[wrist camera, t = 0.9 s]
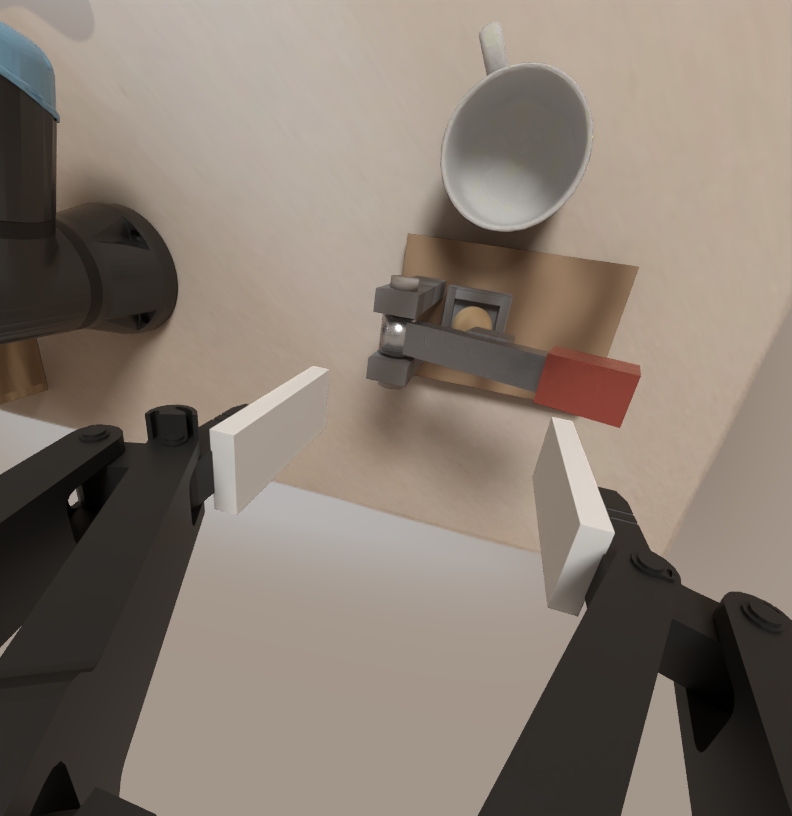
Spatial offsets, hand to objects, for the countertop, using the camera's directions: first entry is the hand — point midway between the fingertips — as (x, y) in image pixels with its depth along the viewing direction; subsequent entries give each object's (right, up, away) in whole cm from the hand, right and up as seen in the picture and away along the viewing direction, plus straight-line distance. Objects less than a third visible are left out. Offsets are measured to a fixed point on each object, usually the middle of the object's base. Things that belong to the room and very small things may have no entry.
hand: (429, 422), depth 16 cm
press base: (+9, +10, +25) cm, 29 cm away
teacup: (+9, +24, +20) cm, 32 cm away
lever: (+7, +5, +13) cm, 16 cm away
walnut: (+6, +8, +20) cm, 23 cm away
